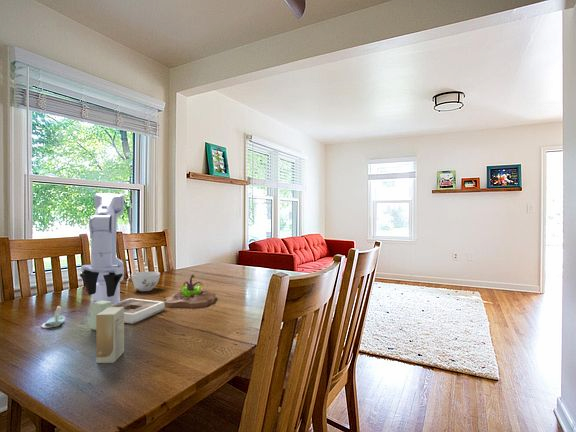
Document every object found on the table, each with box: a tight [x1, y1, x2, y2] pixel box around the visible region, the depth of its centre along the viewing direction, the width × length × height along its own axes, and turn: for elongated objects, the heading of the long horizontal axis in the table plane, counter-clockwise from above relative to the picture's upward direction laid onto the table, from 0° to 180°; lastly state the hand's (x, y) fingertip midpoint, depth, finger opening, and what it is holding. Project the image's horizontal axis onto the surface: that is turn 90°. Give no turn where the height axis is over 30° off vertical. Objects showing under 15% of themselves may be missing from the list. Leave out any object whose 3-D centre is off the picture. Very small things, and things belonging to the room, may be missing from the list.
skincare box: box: [95, 307, 125, 364], centre depth 81 cm, size 6×4×12 cm
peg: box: [90, 300, 111, 331], centre depth 102 cm, size 4×4×8 cm
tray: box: [111, 297, 166, 324], centre depth 116 cm, size 16×16×3 cm
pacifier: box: [41, 305, 66, 329], centre depth 104 cm, size 7×6×6 cm
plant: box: [163, 274, 216, 309], centre depth 134 cm, size 20×20×11 cm
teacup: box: [130, 271, 161, 292], centre depth 153 cm, size 15×12×8 cm
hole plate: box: [113, 301, 156, 313], centre depth 116 cm, size 14×14×2 cm
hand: (101, 295), depth 102 cm, fingers open, 7 cm apart
